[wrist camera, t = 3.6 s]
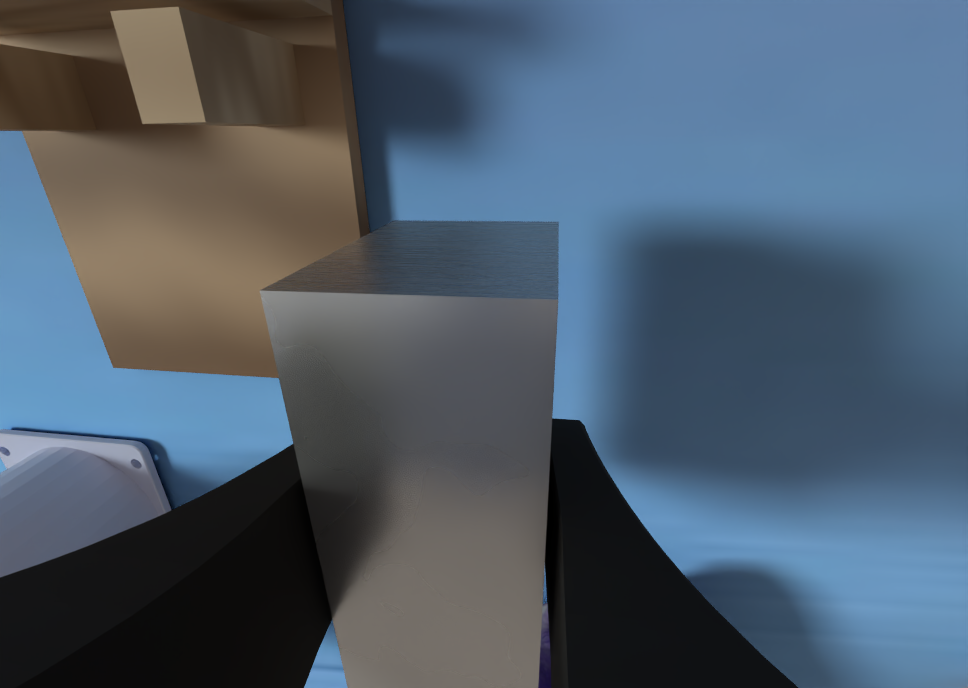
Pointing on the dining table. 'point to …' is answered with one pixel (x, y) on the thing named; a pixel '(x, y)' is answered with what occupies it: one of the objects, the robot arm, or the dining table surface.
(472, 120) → the dining table surface
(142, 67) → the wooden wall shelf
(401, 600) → the gray rectangular block
